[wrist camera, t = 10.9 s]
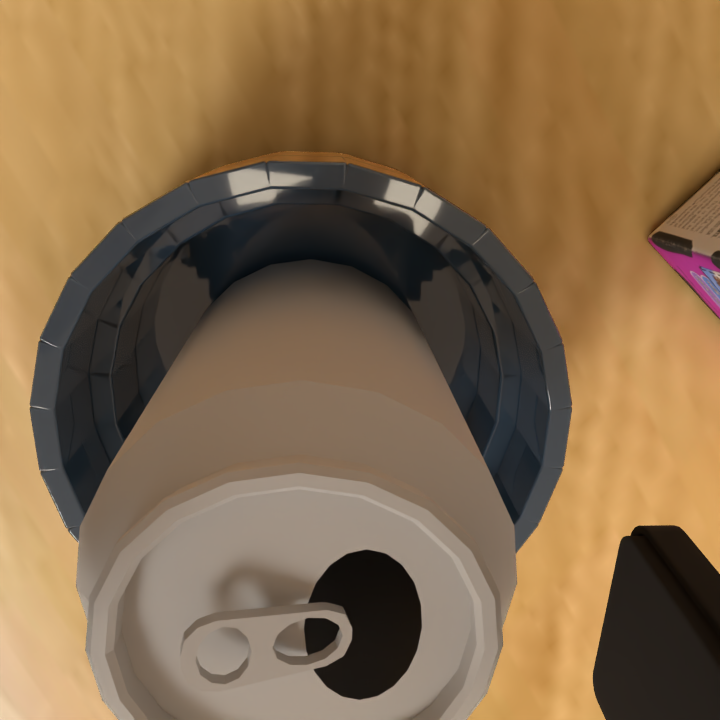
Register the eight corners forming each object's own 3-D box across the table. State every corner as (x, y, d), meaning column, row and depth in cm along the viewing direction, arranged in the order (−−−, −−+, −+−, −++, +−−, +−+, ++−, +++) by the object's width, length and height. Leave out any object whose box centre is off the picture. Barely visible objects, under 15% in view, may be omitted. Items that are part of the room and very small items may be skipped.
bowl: (79, 145, 19) (-12, 154, 14) (532, 155, 20) (608, 168, 14) (124, 537, 23) (67, 656, 18) (492, 533, 24) (538, 645, 19)
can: (419, 475, 22) (519, 832, 11) (196, 474, 22) (64, 847, 11) (436, 256, 20) (586, 431, 9) (184, 249, 19) (-6, 427, 8)
